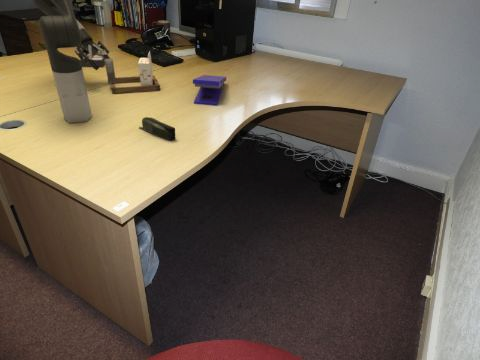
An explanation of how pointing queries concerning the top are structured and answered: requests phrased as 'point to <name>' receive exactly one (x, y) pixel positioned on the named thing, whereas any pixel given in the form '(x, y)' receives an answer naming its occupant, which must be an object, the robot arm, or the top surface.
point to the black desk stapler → (158, 128)
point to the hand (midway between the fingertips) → (104, 66)
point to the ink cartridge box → (145, 71)
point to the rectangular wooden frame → (126, 80)
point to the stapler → (209, 89)
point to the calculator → (97, 59)
